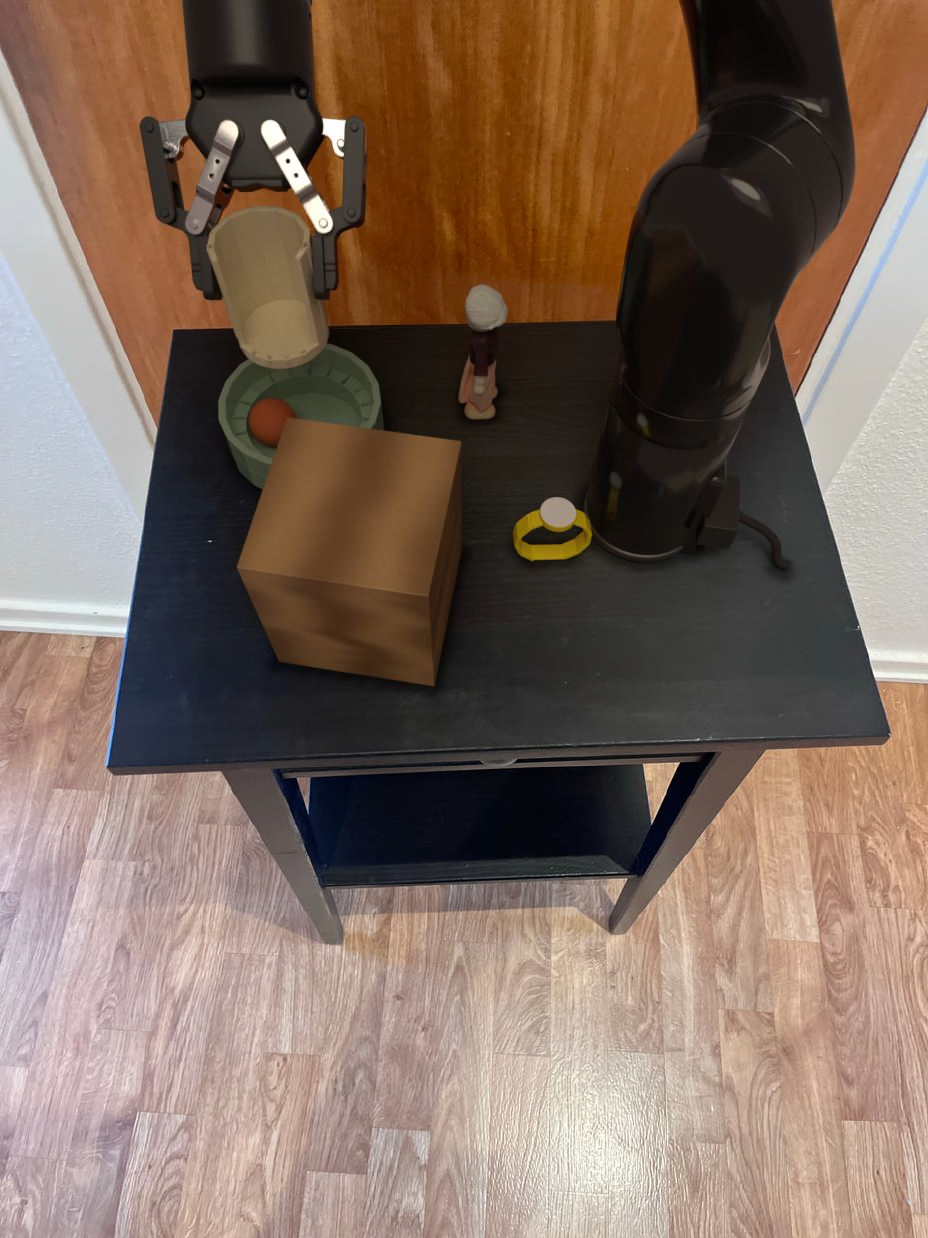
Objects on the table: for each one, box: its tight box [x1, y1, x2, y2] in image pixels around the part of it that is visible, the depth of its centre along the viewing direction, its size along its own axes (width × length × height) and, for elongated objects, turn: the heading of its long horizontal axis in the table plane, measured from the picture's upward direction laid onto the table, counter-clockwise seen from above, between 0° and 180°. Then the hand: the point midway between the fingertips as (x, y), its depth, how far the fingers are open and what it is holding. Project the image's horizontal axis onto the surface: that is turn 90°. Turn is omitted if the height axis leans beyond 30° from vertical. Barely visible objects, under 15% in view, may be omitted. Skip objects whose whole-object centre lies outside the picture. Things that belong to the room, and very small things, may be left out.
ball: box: [249, 398, 297, 447], centre depth 72 cm, size 4×4×4 cm
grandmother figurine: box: [457, 284, 509, 420], centre depth 71 cm, size 8×4×13 cm, turn 2°
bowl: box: [217, 342, 385, 490], centre depth 73 cm, size 13×13×5 cm
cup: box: [206, 205, 330, 369], centre depth 58 cm, size 6×6×8 cm
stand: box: [236, 418, 463, 687], centre depth 61 cm, size 12×12×14 cm
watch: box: [512, 496, 593, 562], centre depth 67 cm, size 6×3×6 cm, turn 95°
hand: (268, 298), depth 56 cm, fingers closed on cup, 6 cm apart
